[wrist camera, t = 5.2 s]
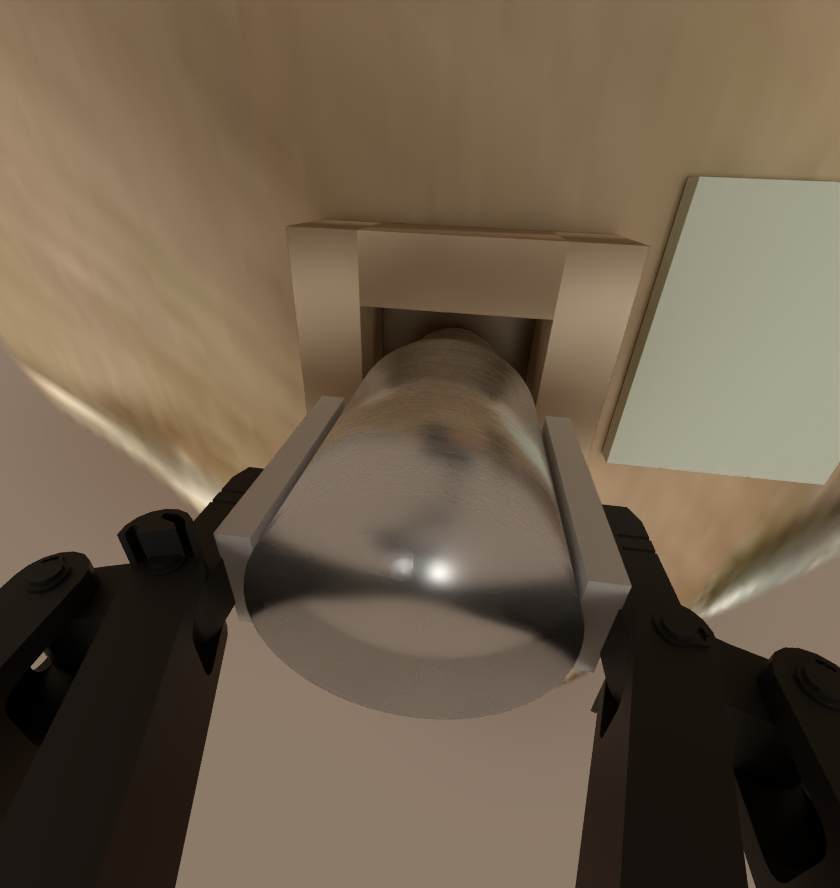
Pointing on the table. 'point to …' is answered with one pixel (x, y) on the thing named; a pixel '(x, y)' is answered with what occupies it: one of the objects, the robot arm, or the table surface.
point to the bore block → (466, 301)
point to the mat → (740, 337)
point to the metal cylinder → (424, 544)
